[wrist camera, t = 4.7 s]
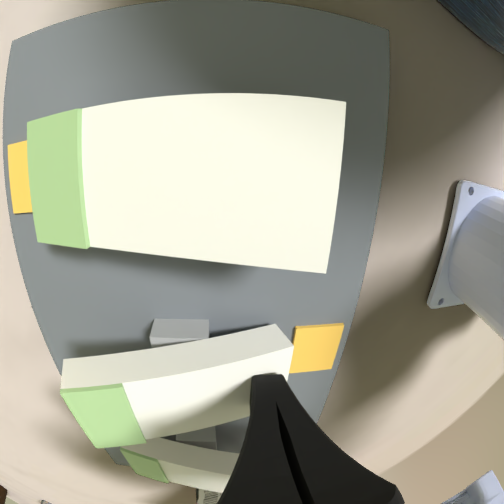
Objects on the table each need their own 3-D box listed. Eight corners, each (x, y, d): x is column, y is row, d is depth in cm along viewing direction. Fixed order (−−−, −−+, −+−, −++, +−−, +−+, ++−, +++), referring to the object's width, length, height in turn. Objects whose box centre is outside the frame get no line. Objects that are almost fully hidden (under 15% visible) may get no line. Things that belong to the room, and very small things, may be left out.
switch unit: (372, 37, 9) (405, 22, 7) (294, 452, 21) (301, 477, 19) (29, 46, 7) (-5, 36, 5) (118, 450, 19) (114, 475, 17)
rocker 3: (275, 457, 13) (272, 482, 12) (268, 479, 15) (266, 500, 13) (129, 428, 14) (119, 449, 13) (143, 455, 16) (136, 473, 14)
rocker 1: (335, 108, 7) (347, 100, 5) (321, 248, 8) (326, 277, 7) (62, 119, 8) (27, 122, 6) (69, 224, 9) (37, 242, 8)
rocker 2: (275, 323, 12) (296, 349, 11) (267, 383, 14) (284, 408, 12) (63, 359, 9) (59, 392, 7) (93, 417, 10) (96, 448, 9)
